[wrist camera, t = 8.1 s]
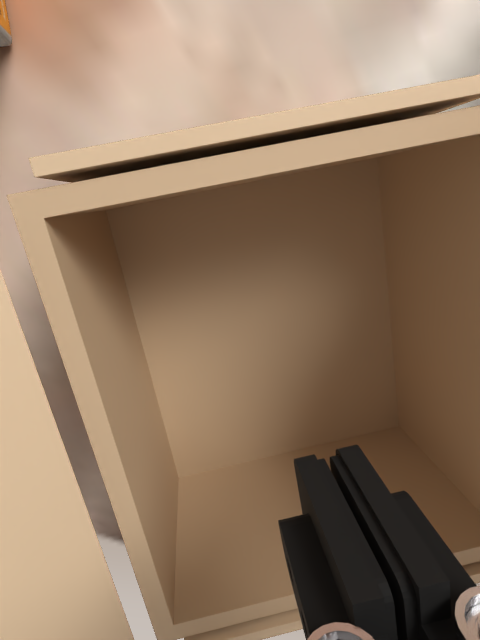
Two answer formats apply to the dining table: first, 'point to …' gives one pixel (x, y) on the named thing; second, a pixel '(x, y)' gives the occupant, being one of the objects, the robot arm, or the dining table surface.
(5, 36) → the hard drive box
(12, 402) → the flap
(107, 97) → the dining table surface
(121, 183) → the carton
